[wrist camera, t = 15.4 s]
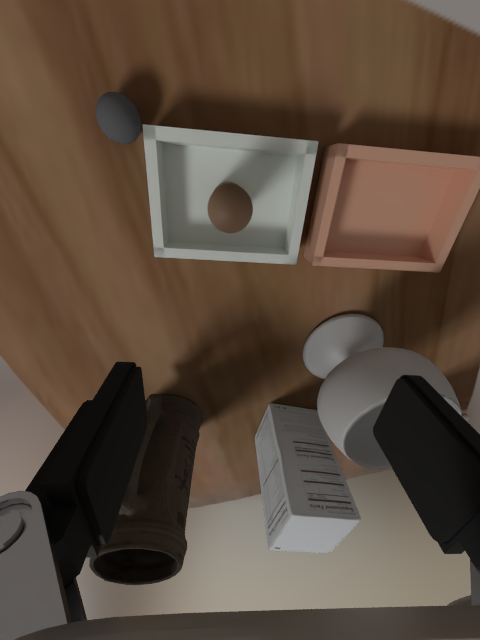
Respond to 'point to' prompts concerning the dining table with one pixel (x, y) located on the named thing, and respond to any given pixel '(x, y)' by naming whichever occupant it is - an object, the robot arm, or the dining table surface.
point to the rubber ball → (118, 118)
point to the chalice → (361, 382)
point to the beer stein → (154, 498)
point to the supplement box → (301, 482)
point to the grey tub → (218, 167)
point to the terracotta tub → (389, 207)
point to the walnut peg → (230, 208)
